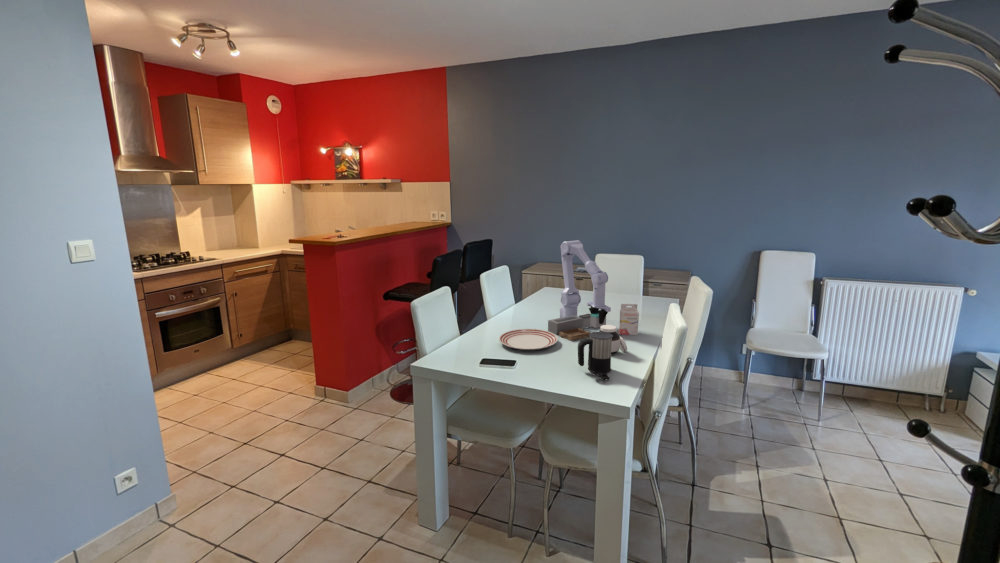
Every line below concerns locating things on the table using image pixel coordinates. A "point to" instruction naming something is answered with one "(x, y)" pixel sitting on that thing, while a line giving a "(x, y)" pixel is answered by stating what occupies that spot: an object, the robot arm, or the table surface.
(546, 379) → the table surface
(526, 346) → the dinner plate
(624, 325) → the ink cartridge box
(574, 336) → the walnut tray
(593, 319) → the teal cartridge
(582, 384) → the table surface
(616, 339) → the spread jar
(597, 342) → the milk frother
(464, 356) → the table surface
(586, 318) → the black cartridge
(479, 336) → the table surface
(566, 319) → the grey long block
